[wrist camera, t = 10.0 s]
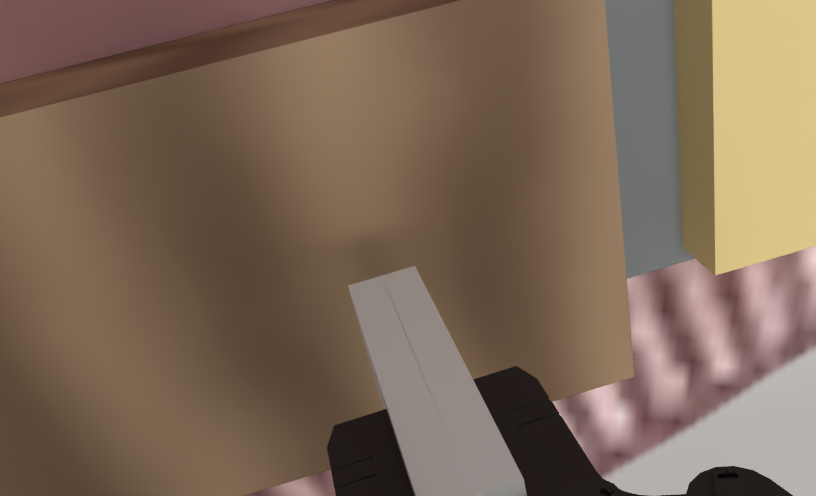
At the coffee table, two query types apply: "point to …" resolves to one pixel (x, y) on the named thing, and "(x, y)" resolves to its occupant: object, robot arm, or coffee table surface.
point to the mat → (646, 131)
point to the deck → (296, 233)
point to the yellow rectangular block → (746, 129)
